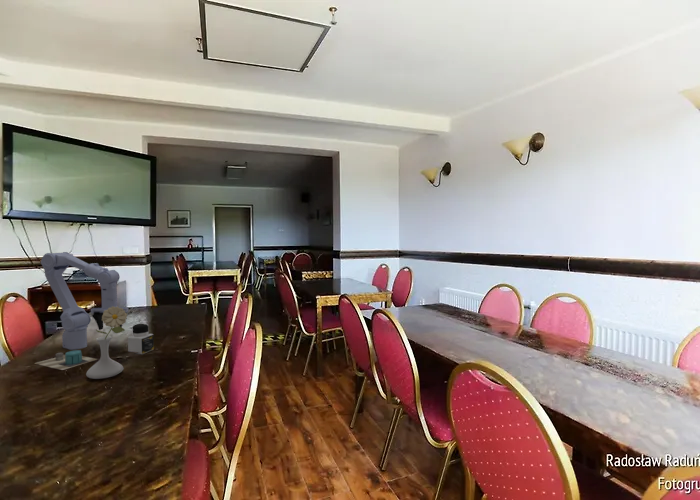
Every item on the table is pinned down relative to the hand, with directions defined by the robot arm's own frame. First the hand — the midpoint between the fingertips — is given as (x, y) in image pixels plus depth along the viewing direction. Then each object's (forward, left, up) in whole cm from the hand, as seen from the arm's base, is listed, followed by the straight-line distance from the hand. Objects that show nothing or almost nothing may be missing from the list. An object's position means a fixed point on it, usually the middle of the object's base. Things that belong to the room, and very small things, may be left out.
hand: (110, 329), depth 166 cm
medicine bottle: (+14, +4, -10) cm, 17 cm away
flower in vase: (+28, -20, -10) cm, 36 cm away
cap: (+6, -19, -8) cm, 21 cm away
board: (+1, -19, -9) cm, 21 cm away
